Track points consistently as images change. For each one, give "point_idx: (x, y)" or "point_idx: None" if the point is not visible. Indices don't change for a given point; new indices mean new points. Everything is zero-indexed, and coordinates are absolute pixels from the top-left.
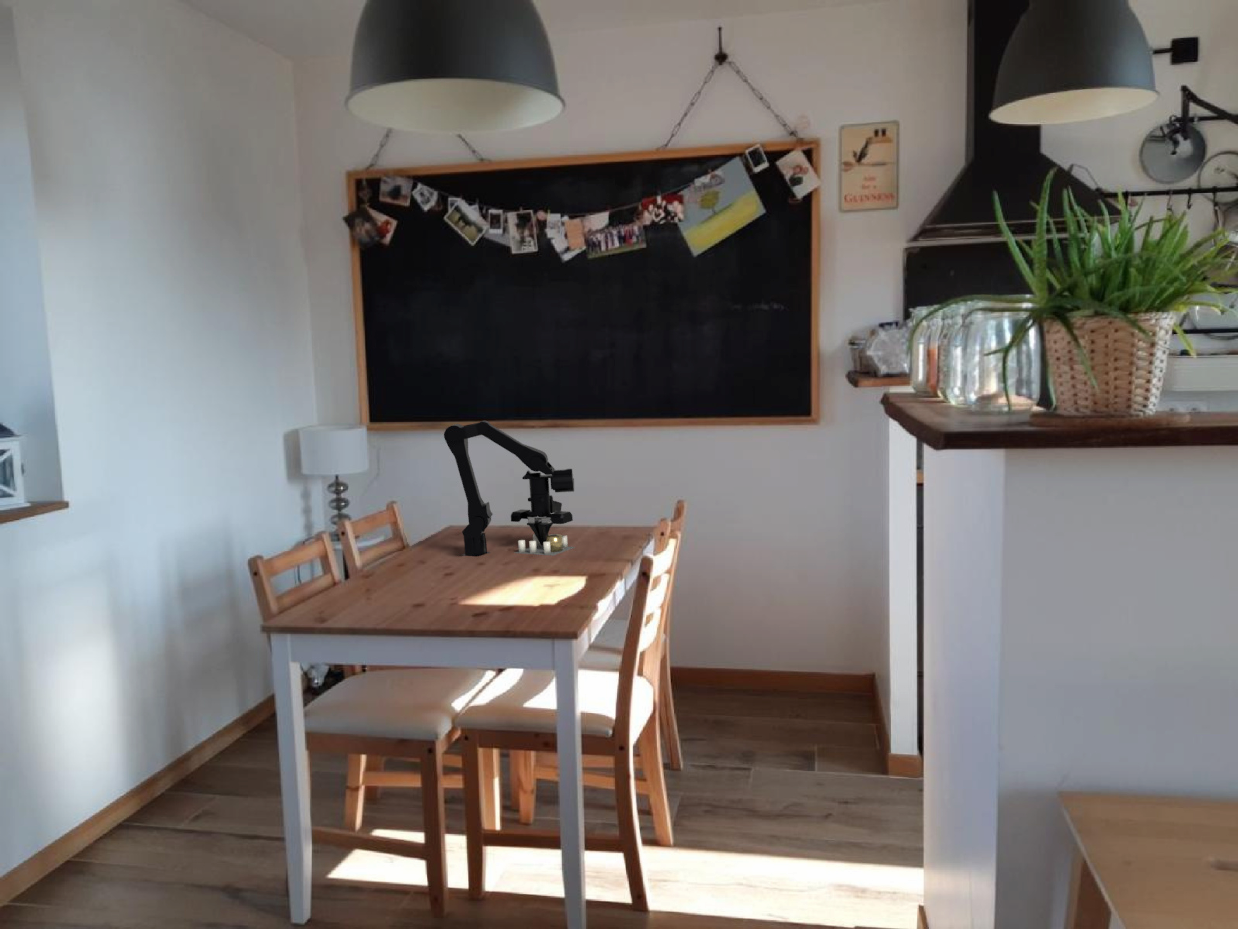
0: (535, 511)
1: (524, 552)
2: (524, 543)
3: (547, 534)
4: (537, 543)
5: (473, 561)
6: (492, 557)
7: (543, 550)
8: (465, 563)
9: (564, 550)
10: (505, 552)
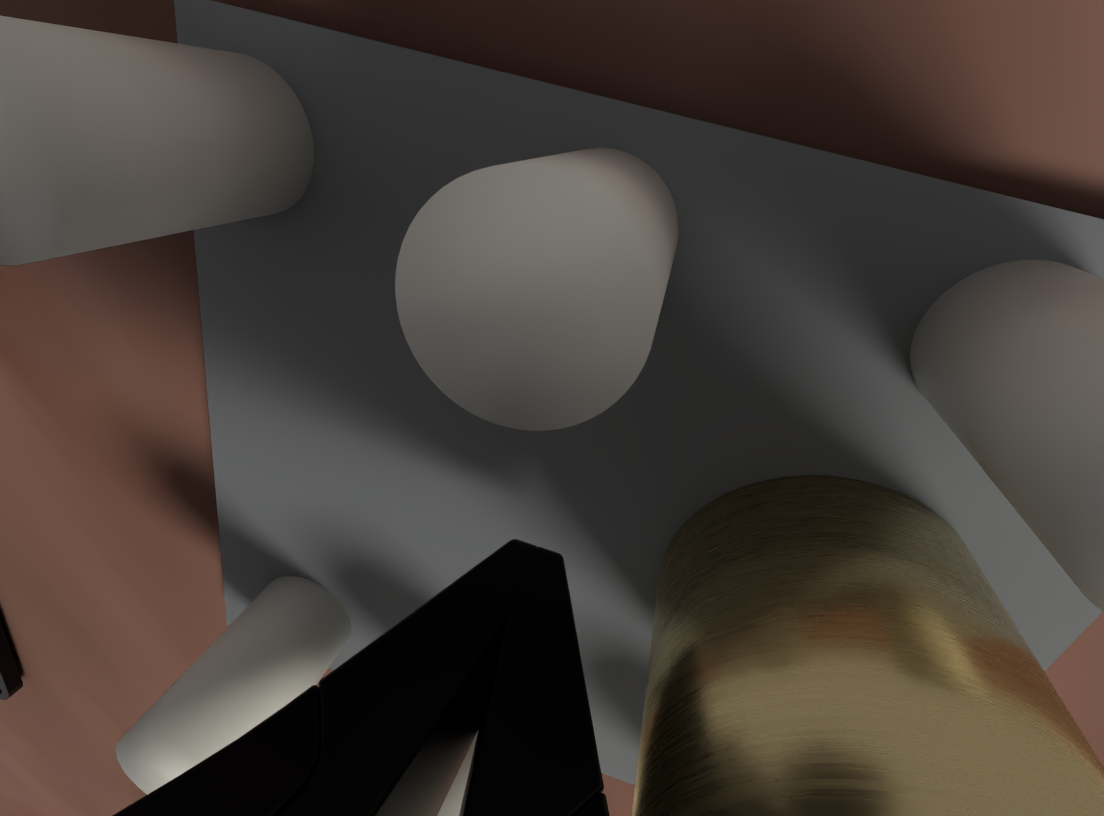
0: None
1: (349, 638)
2: None
3: (593, 794)
4: (252, 210)
5: (85, 761)
6: (115, 669)
7: (580, 567)
8: (83, 799)
9: (1032, 630)
10: (52, 466)
